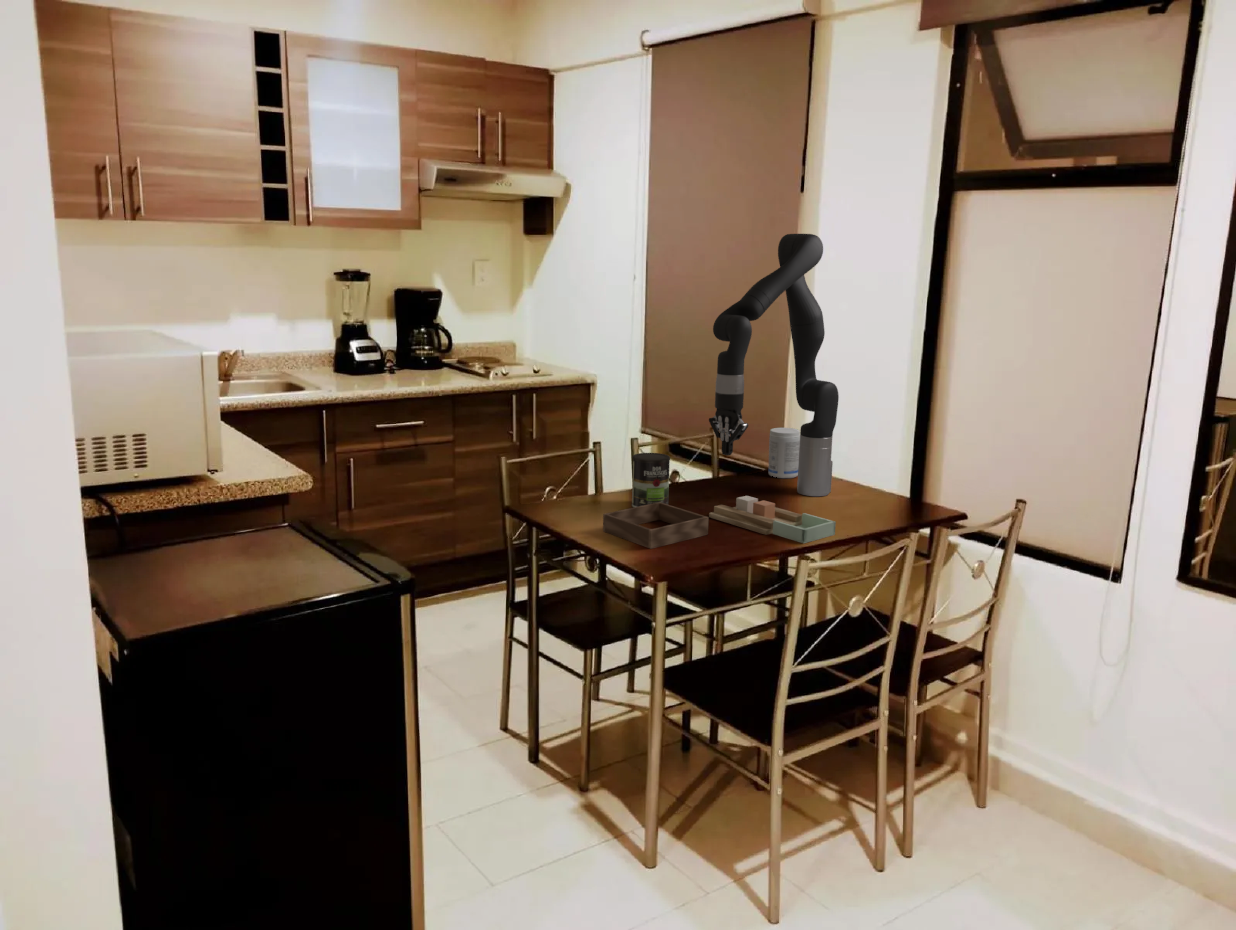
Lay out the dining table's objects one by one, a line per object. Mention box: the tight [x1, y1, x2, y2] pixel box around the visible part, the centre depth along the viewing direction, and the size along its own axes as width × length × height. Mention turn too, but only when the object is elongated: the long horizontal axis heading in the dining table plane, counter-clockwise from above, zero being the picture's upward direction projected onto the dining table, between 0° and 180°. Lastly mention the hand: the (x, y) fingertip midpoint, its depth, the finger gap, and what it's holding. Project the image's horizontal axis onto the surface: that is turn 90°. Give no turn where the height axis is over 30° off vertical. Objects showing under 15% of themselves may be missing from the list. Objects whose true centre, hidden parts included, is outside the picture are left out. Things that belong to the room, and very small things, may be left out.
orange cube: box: [753, 500, 776, 519], centre depth 247 cm, size 4×4×4 cm
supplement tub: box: [767, 427, 801, 479], centre depth 298 cm, size 10×10×15 cm
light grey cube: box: [735, 495, 759, 514], centre depth 251 cm, size 4×4×4 cm
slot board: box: [708, 504, 802, 535], centre depth 249 cm, size 16×20×3 cm
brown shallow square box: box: [602, 502, 710, 549], centre depth 236 cm, size 19×18×4 cm
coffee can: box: [631, 452, 671, 508], centre depth 260 cm, size 10×10×14 cm
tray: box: [772, 512, 837, 544], centre depth 237 cm, size 12×10×3 cm
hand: (726, 454), depth 254 cm, fingers closed
